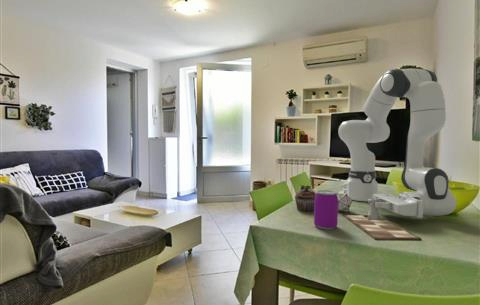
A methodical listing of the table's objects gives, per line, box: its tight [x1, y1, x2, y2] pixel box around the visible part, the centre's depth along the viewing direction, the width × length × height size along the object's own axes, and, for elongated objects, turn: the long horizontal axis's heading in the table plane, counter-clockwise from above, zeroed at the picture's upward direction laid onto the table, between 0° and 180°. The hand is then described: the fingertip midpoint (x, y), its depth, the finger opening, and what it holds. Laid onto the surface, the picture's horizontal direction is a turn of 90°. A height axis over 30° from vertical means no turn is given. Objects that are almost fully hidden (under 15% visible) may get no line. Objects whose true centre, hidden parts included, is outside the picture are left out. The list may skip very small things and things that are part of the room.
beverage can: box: [313, 189, 339, 231], centre depth 99 cm, size 8×8×12 cm
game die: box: [336, 192, 356, 213], centre depth 120 cm, size 9×8×10 cm
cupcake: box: [294, 185, 317, 213], centre depth 123 cm, size 10×10×10 cm
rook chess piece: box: [366, 197, 381, 220], centre depth 109 cm, size 4×4×8 cm
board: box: [342, 214, 422, 241], centre depth 101 cm, size 26×14×1 cm, turn 1°
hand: (371, 203), depth 109 cm, fingers closed on rook chess piece, 3 cm apart
